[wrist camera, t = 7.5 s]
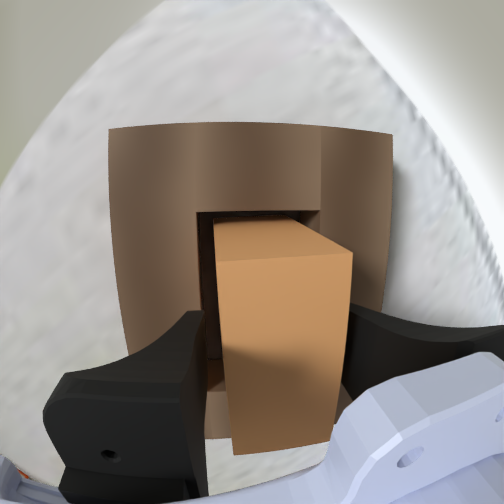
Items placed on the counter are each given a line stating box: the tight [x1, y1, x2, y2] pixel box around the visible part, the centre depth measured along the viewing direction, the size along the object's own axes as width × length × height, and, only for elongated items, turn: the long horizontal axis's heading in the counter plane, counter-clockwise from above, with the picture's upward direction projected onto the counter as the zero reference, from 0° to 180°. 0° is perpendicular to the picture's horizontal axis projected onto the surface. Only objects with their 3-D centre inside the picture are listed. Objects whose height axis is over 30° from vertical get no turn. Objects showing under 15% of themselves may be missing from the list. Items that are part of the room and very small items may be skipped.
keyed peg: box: [213, 215, 353, 455], centre depth 12 cm, size 4×7×8 cm, turn 2°
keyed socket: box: [108, 122, 393, 439], centre depth 15 cm, size 12×16×3 cm
